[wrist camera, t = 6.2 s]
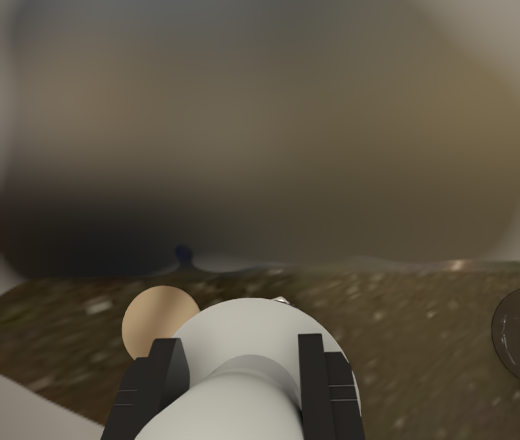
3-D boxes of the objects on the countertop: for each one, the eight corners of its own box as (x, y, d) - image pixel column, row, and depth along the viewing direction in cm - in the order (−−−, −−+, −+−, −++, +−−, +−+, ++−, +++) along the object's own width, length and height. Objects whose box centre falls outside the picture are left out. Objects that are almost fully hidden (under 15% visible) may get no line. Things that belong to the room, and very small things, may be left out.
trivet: (202, 284, 41) (201, 284, 40) (203, 367, 39) (202, 368, 38) (125, 287, 41) (123, 287, 40) (122, 370, 39) (120, 371, 39)
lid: (346, 295, 16) (402, 280, 8) (364, 514, 14) (460, 783, 6) (158, 302, 16) (28, 296, 8) (154, 514, 15) (-14, 762, 7)
